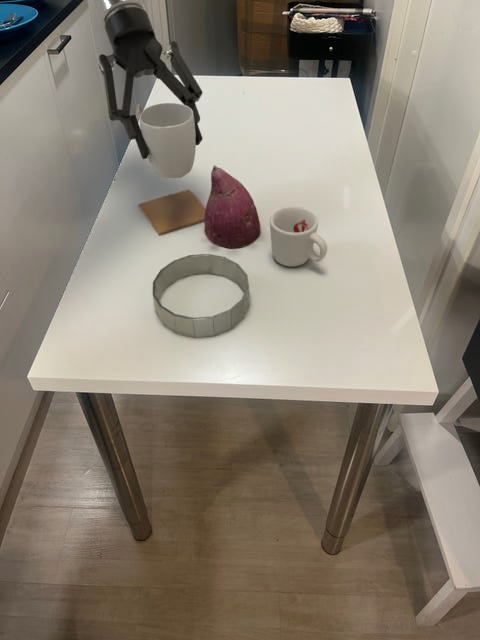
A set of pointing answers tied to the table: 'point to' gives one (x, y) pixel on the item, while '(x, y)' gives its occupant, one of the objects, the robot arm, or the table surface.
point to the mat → (173, 211)
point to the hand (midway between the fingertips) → (172, 149)
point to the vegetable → (230, 212)
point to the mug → (169, 138)
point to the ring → (201, 266)
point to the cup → (295, 236)
